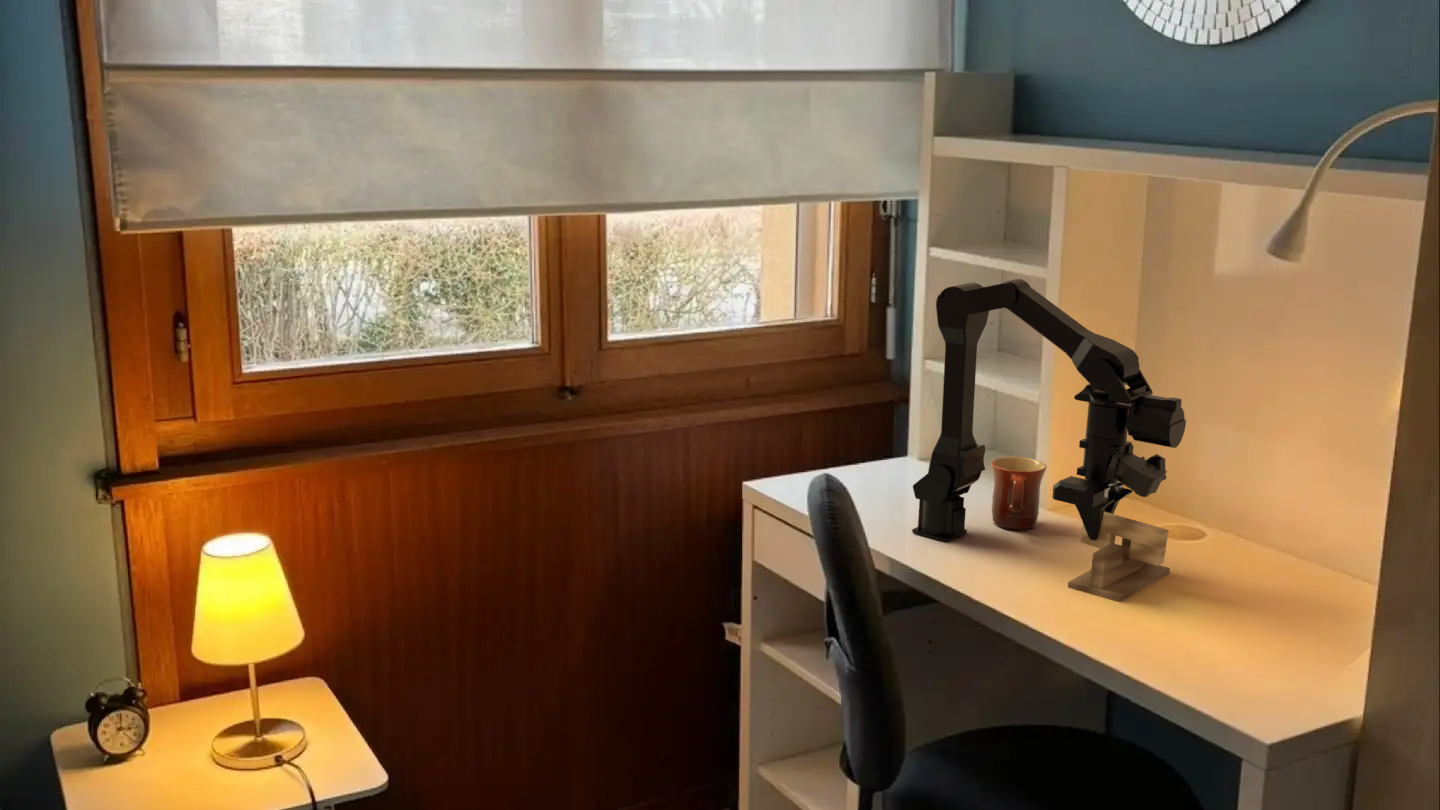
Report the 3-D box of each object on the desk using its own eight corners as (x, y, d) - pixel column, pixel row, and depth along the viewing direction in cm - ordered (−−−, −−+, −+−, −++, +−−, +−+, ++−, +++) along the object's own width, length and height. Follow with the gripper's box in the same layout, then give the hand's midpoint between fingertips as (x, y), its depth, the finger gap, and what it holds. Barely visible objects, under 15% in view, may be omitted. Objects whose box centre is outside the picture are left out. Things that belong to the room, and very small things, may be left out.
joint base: (1067, 587, 197) (1071, 548, 195) (1118, 559, 208) (1122, 523, 207) (1120, 601, 192) (1124, 562, 190) (1169, 573, 203) (1173, 535, 202)
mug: (987, 514, 229) (991, 454, 226) (1041, 518, 227) (1046, 458, 225) (985, 537, 217) (990, 474, 215) (1042, 542, 215) (1047, 479, 213)
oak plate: (1080, 542, 202) (1084, 510, 201) (1086, 539, 204) (1090, 507, 202) (1158, 566, 195) (1163, 532, 193) (1163, 563, 196) (1168, 529, 195)
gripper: (1130, 458, 186) (1119, 567, 189) (1188, 433, 199) (1176, 536, 203) (1055, 442, 193) (1046, 548, 196) (1116, 419, 206) (1106, 519, 210)
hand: (1096, 538), depth 201 cm, fingers closed on oak plate, 2 cm apart
